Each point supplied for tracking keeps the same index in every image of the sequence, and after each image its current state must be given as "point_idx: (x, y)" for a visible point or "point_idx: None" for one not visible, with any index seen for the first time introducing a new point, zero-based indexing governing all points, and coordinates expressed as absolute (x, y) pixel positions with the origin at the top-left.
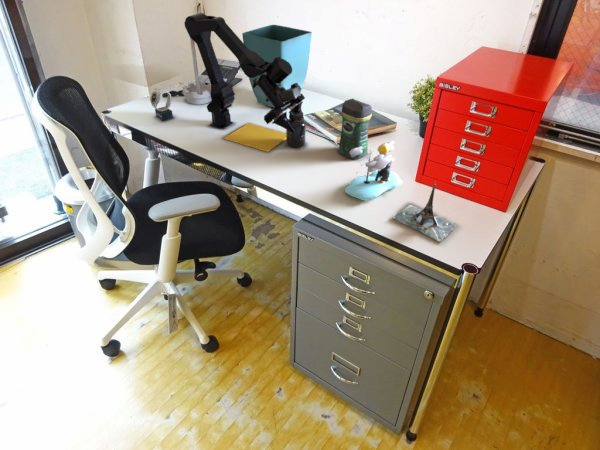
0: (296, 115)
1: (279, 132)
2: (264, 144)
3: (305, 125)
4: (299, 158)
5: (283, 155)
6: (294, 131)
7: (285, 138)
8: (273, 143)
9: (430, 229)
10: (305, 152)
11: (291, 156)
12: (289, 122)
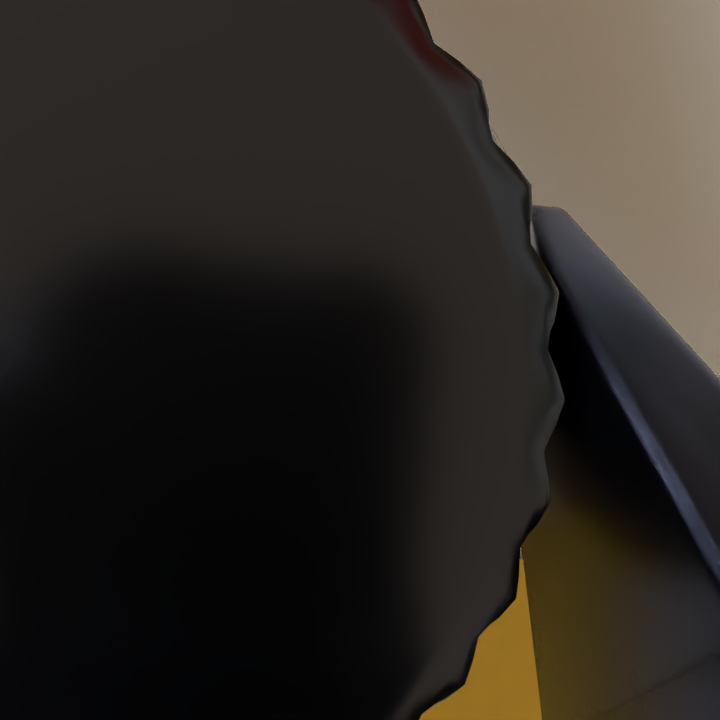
0: (485, 164)
1: None
2: (513, 715)
3: None
4: (673, 39)
5: (678, 314)
6: (556, 211)
7: None
8: None
9: None
10: (446, 30)
11: (661, 186)
12: (682, 433)
